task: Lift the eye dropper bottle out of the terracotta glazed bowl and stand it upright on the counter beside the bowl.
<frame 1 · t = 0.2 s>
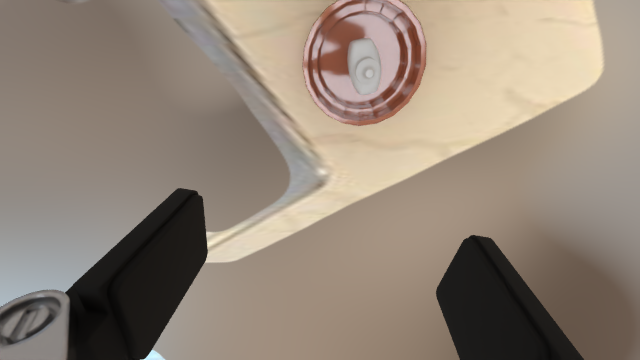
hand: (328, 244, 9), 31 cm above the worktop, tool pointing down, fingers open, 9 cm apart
eye dropper bottle: (360, 62, 34), resting on bowl
bowl: (360, 62, 34), on the worktop
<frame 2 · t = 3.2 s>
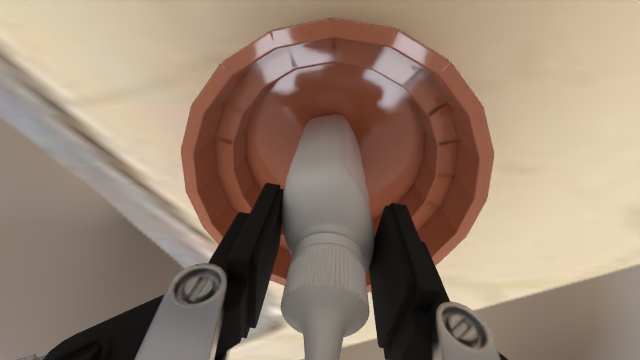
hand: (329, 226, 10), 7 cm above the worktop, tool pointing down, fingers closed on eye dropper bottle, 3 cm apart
eye dropper bottle: (333, 155, 16), resting on bowl, touching gripper
bowl: (333, 154, 17), on the worktop
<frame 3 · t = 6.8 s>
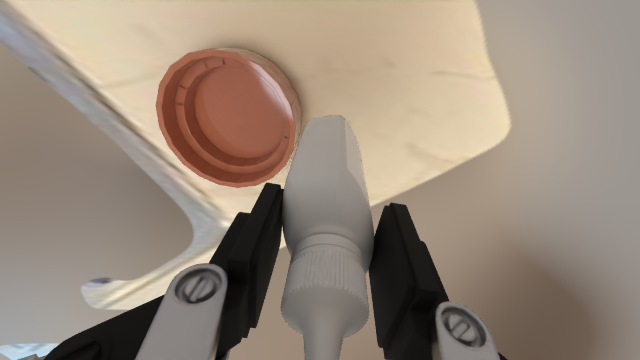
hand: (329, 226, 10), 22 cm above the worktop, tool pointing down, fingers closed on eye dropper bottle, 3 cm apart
eye dropper bottle: (333, 156, 16), point 15 cm above the worktop, touching gripper
bowl: (242, 114, 31), on the worktop
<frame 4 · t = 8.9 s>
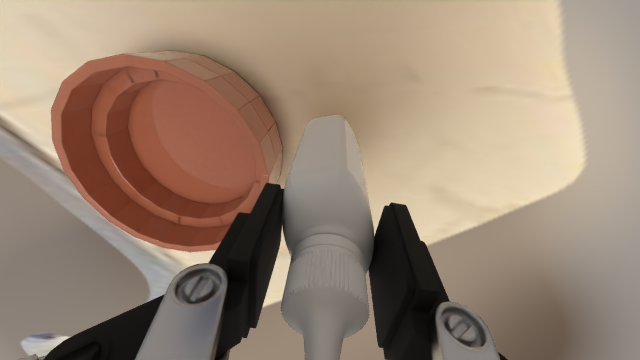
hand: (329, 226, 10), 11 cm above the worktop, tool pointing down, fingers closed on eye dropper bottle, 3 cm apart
eye dropper bottle: (333, 156, 16), point 4 cm above the worktop, touching gripper
bowl: (199, 145, 22), on the worktop
when the fingers open (7 cm above the worktop, at t = 10.4 s): eye dropper bottle stays where it is, on the worktop.
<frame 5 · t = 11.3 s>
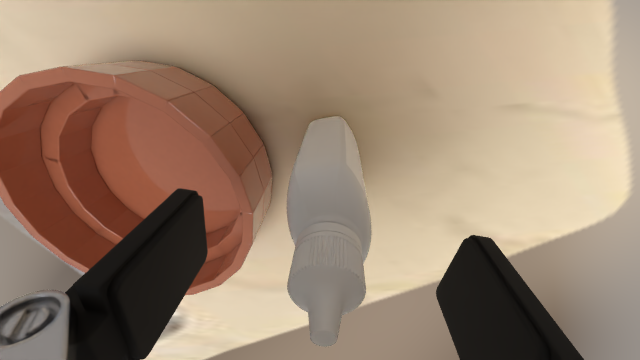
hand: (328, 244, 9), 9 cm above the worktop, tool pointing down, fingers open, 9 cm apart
eye dropper bottle: (333, 155, 17), on the worktop
bowl: (175, 169, 18), on the worktop
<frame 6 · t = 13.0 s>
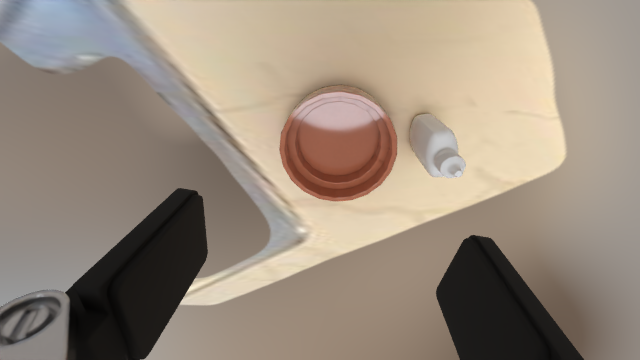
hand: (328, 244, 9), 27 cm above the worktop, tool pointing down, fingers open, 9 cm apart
eye dropper bottle: (421, 133, 35), on the worktop
bowl: (337, 138, 36), on the worktop
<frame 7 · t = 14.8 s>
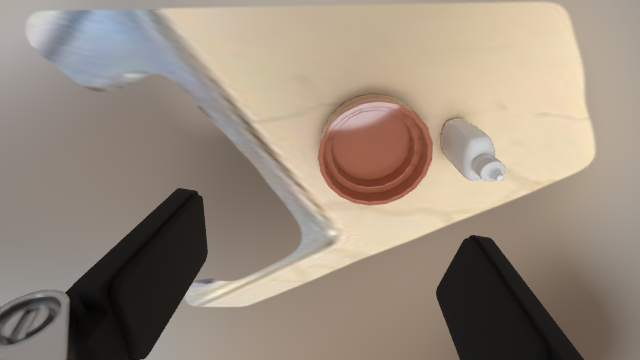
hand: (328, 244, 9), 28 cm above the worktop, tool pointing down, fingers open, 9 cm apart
eye dropper bottle: (452, 137, 36), on the worktop
bowl: (370, 144, 37), on the worktop
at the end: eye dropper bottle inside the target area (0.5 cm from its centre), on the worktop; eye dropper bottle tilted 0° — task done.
